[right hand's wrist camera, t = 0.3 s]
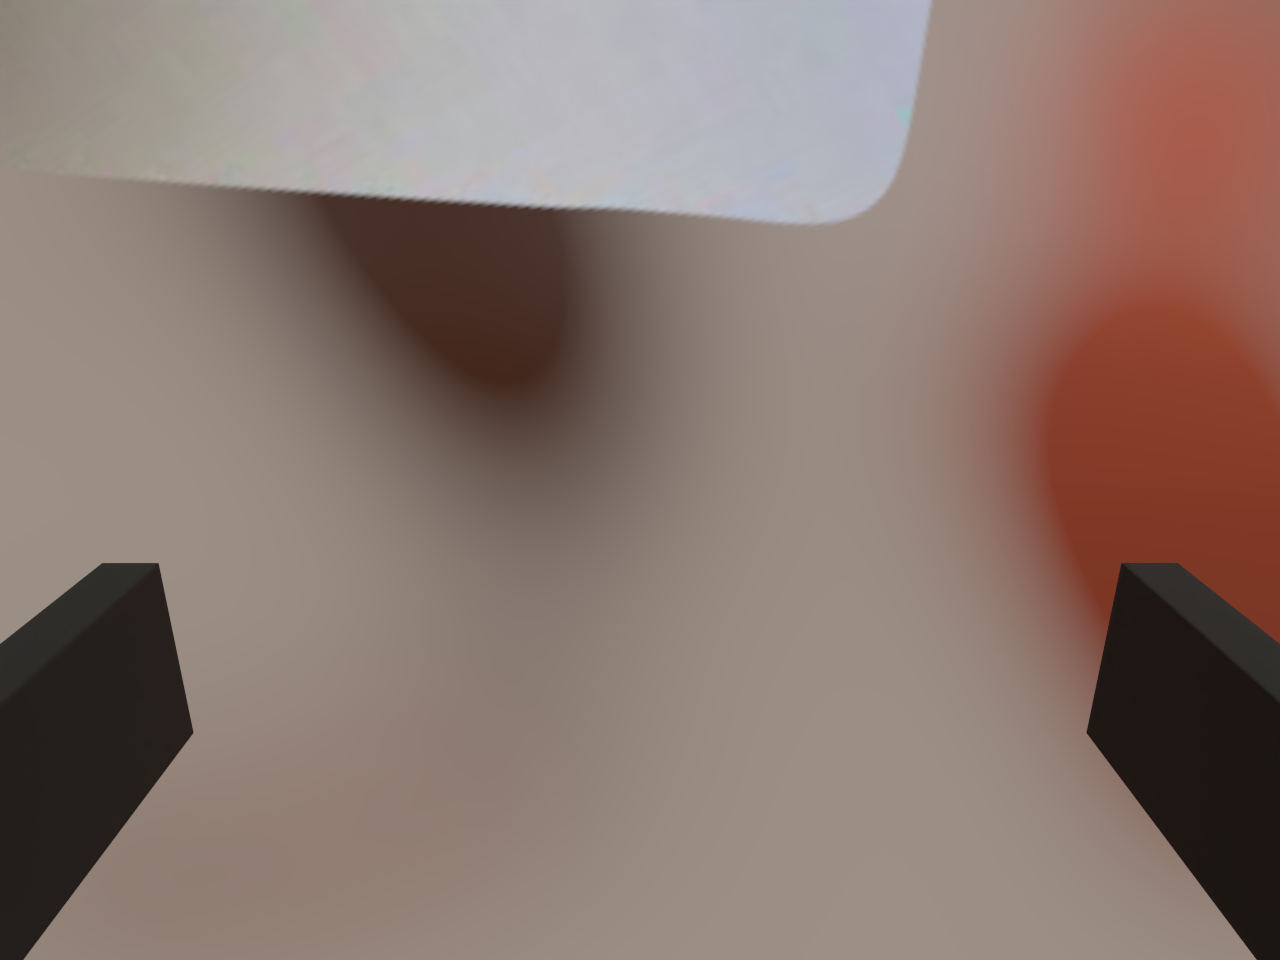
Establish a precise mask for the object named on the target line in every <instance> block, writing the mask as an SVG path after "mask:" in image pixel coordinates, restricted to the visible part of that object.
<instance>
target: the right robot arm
mask: <svg viewBox="0 0 1280 960" xmlns="http://www.w3.org/2000/svg"><path fill="white" fill-rule="evenodd" d="M192 734H193V728H192V724H191V719H190V714H189V709H188V704H187V699H186V694H185V690H184V685H183V680H182V675H181V670H180V665H179V660H178V656H177V651H176V646H175V641H174V636H173V631H172V627H171V622H170V617H169V612H168V607H167V602H166V597H165V593H164V588H163V583H162V578H161V573H160V568H159V564H158V563H102V564H101V565H99V566H98V567H97V568H96V569H94V570H93V571H92V572H91V573H89V574H88V575H87V576H86V577H84V578H83V579H82V580H80V581H79V582H78V583H77V584H75V585H74V586H73V587H72V588H70V589H69V590H68V591H67V592H65V593H64V594H63V595H62V596H60V597H59V598H58V599H57V600H55V601H54V602H53V603H51V604H50V605H49V606H48V607H46V608H45V609H44V610H43V611H41V612H40V613H39V614H38V615H36V616H35V617H34V618H33V619H31V620H30V621H29V622H27V623H26V624H25V625H24V626H22V627H21V628H20V629H19V630H17V631H16V632H15V633H14V634H12V635H11V636H10V637H9V638H7V639H6V640H5V641H3V642H2V643H1V644H0V960H23V959H24V958H25V957H26V955H27V954H28V953H29V951H30V950H31V949H32V947H33V946H34V945H35V943H36V942H37V941H38V939H39V938H40V937H41V935H42V934H43V933H44V931H45V930H46V929H47V927H48V926H49V925H50V923H51V922H52V921H53V919H54V918H55V917H56V915H57V914H58V913H59V911H60V910H61V909H62V907H63V906H64V905H65V903H66V902H67V901H68V899H69V898H70V897H71V895H72V894H73V893H74V891H75V890H76V889H77V887H78V886H79V885H80V883H81V882H82V881H83V879H84V878H85V877H86V875H87V874H88V873H89V871H90V870H91V869H92V867H93V866H94V865H95V863H96V862H97V861H98V859H99V858H100V857H101V855H102V854H103V853H104V851H105V850H106V849H107V847H108V846H109V845H110V843H111V842H112V841H113V839H114V838H115V837H116V835H117V834H118V833H119V831H120V830H121V829H122V827H123V826H124V825H125V823H126V822H127V821H128V819H129V818H130V817H131V815H132V814H133V813H134V811H135V810H136V809H137V807H138V806H139V805H140V803H141V802H142V801H143V799H144V798H145V797H146V795H147V794H148V793H149V791H150V790H151V789H152V787H153V786H154V785H155V783H156V782H157V781H158V779H159V778H160V777H161V775H162V774H163V773H164V771H165V770H166V769H167V767H168V766H169V765H170V763H171V762H172V761H173V759H174V758H175V757H176V755H177V754H178V753H179V751H180V750H181V749H182V747H183V746H184V745H185V743H186V742H187V741H188V739H189V738H190V737H191V735H192ZM1087 734H1088V735H1089V737H1090V738H1091V739H1092V741H1093V742H1094V743H1095V745H1096V746H1097V747H1098V749H1099V750H1100V751H1101V753H1102V754H1103V755H1104V757H1105V758H1106V759H1107V761H1108V762H1109V763H1110V765H1111V766H1112V767H1113V769H1114V770H1115V771H1116V773H1117V774H1118V775H1119V777H1120V778H1121V779H1122V781H1123V782H1124V783H1125V785H1126V786H1127V787H1128V789H1129V790H1130V791H1131V793H1132V794H1133V795H1134V797H1135V798H1136V799H1137V801H1138V802H1139V803H1140V805H1141V806H1142V807H1143V809H1144V810H1145V811H1146V813H1147V814H1148V815H1149V817H1150V818H1151V819H1152V821H1153V822H1154V823H1155V825H1156V826H1157V827H1158V829H1159V830H1160V831H1161V833H1162V834H1163V835H1164V837H1165V838H1166V839H1167V841H1168V842H1169V843H1170V845H1171V846H1172V847H1173V849H1174V850H1175V851H1176V853H1177V854H1178V855H1179V857H1180V858H1181V859H1182V861H1183V862H1184V863H1185V865H1186V866H1187V867H1188V869H1189V870H1190V871H1191V873H1192V874H1193V875H1194V877H1195V878H1196V879H1197V881H1198V882H1199V883H1200V885H1201V886H1202V887H1203V889H1204V890H1205V891H1206V893H1207V894H1208V895H1209V897H1210V898H1211V899H1212V901H1213V902H1214V903H1215V905H1216V906H1217V907H1218V909H1219V910H1220V911H1221V913H1222V914H1223V915H1224V917H1225V918H1226V919H1227V921H1228V922H1229V923H1230V925H1231V926H1232V927H1233V929H1234V930H1235V931H1236V933H1237V934H1238V935H1239V937H1240V938H1241V939H1242V941H1243V942H1244V943H1245V945H1246V946H1247V947H1248V949H1249V950H1250V951H1251V953H1252V954H1253V955H1254V957H1255V958H1256V959H1257V960H1280V644H1279V643H1278V642H1277V641H1275V640H1274V639H1273V638H1271V637H1270V636H1269V635H1268V634H1266V633H1265V632H1264V631H1263V630H1261V629H1260V628H1259V627H1258V626H1256V625H1255V624H1254V623H1253V622H1251V621H1250V620H1249V619H1247V618H1246V617H1245V616H1244V615H1242V614H1241V613H1240V612H1239V611H1237V610H1236V609H1235V608H1234V607H1232V606H1231V605H1230V604H1229V603H1227V602H1226V601H1225V600H1223V599H1222V598H1221V597H1220V596H1218V595H1217V594H1216V593H1215V592H1213V591H1212V590H1211V589H1210V588H1208V587H1207V586H1206V585H1205V584H1203V583H1202V582H1201V581H1200V580H1198V579H1197V578H1196V577H1194V576H1193V575H1192V574H1191V573H1189V572H1188V571H1187V570H1186V569H1184V568H1183V567H1182V566H1181V565H1179V564H1178V563H1122V564H1121V568H1120V573H1119V578H1118V583H1117V588H1116V593H1115V598H1114V602H1113V607H1112V612H1111V617H1110V622H1109V627H1108V631H1107V636H1106V641H1105V646H1104V651H1103V656H1102V661H1101V665H1100V670H1099V675H1098V680H1097V685H1096V690H1095V695H1094V699H1093V704H1092V709H1091V714H1090V719H1089V724H1088V728H1087Z"/></svg>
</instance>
